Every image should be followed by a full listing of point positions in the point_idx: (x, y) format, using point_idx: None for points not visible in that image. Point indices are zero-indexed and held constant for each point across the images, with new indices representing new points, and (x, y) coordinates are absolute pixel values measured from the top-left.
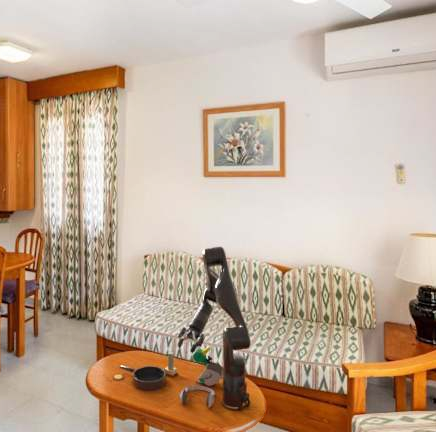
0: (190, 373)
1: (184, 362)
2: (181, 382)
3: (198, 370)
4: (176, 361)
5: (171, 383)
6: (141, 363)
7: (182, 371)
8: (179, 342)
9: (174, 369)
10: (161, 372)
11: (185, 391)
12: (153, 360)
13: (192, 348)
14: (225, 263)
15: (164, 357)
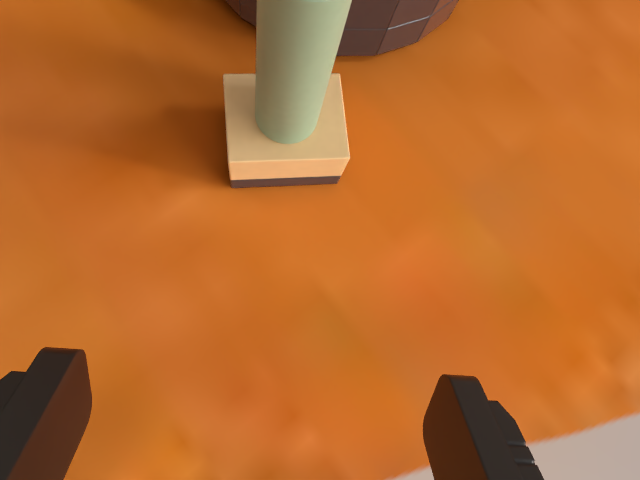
0: (116, 292)
1: (336, 476)
2: (96, 86)
3: None
4: None
5: (170, 24)
6: (635, 158)
7: (221, 274)
8: (493, 445)
9: (237, 123)
10: None
11: None
12: (610, 276)
13: (7, 405)
14: None
15: (588, 412)
